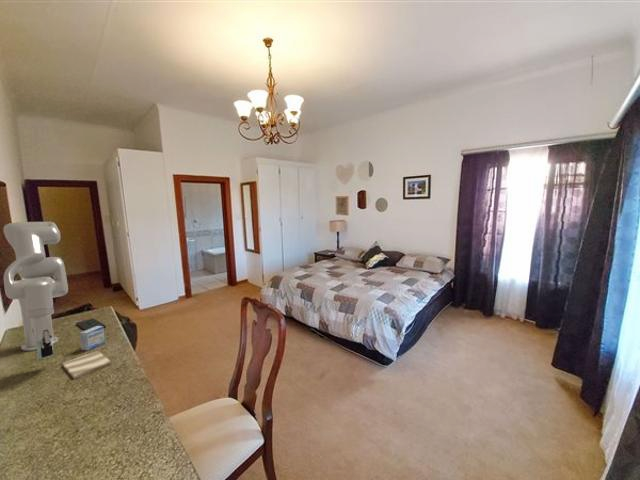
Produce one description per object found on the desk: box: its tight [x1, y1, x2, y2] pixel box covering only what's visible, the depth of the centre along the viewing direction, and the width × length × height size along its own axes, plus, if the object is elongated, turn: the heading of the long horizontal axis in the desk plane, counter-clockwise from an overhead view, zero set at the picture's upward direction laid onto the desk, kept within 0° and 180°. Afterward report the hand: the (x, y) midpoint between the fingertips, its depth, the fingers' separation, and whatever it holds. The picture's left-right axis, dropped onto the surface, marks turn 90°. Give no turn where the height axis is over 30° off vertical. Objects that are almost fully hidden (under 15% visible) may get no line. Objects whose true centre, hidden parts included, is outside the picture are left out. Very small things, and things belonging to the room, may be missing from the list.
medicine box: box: [79, 326, 106, 351], centre depth 128 cm, size 8×4×9 cm, turn 168°
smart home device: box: [76, 318, 107, 331], centre depth 152 cm, size 8×2×20 cm
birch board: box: [62, 350, 112, 380], centre depth 113 cm, size 16×12×1 cm
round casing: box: [36, 339, 55, 360], centre depth 110 cm, size 5×5×8 cm
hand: (45, 353), depth 110 cm, fingers closed on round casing, 4 cm apart
